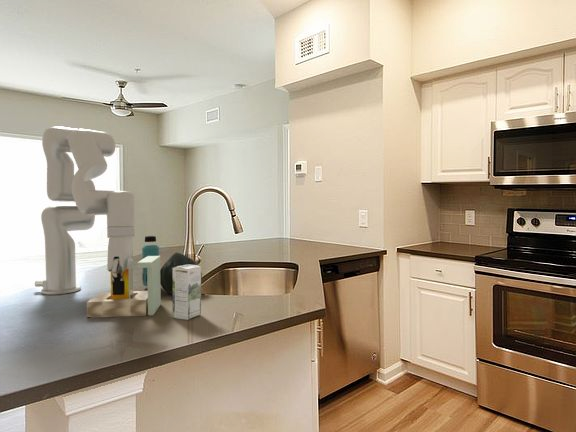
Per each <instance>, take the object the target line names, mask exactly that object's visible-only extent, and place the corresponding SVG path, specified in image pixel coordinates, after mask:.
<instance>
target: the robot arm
mask: <svg viewBox="0 0 576 432" xmlns="http://www.w3.org/2000/svg"><path fill="white" fill-rule="evenodd" d="M41 144H42V150H43V153H44V156H45V159H46V194H47V197H48V199H49V200H50V201H52V202H59V203H62V202H63V203H64V202H65V203H75V205H69V204H68V205H67V204H65V205H62V204H61V205H51V206H48V207H46V208H44V209H43V211H41V213H40V214H41V217H40V218H41V224H42V229H43V234H44V248H45V279H44V280H35V282H34V286H35V287H36V288H38V287H39V288H40V287H42V289H41V291H40V293H41V294H42V295H48V296H49V295H50V296H51V295H52V296H53V295H55V296H57V295H65V294H71V293H75V292H78V291H80V290H81V288H82V287H81V285H80V284H77V275H76V274H77V273H76V271H77V270H76V269H77V267H76V242H75V240H74V238H73V237H72V236H71V235H70V234H69V232H74V231H87V230H90V229H92V228H93V226H94V224H95V221H96V220H95V218H96V216H106V225H107V227H106V229H107V230H106V234H107V235H106V236H107V239H108V242H107V243H108V245H107V264H106V265H107V269H106V270H107V272H109V273H111V271H112V276H113V277H112V283H113V295H124V294H125V282H124V281H123V277H124V271H125V270H126V269H127V263H128V259H129V257H131V258H132V261H133V239H132V238H135V195H134V193H133V192H132V191H129V190H104V189H103V190H101V189H100V190H99V189H97V190H96V186H95V184H94V183H95V182H93V180H92V179H95V178H98V177H100V176H102V175H103V174H105V172H106V171H107V169H108V163H107V161H106V158H105V157H111V156H113V155H114V153H115V151H116V141H115V139H114V138H113V136H112V135H111V134H110V133H108V132H107V131H100V130H94V129H92V130H91V129H85V128H79V129H78V128H71V127H65V126H50V127H48V128H46V129H45V130H44V132H43V134H42V141H41ZM68 153H72V156H73V159H74V161H75V163H74V161H73V160H72V158H71V156H70V154H68ZM75 164H76V166H77V168H78V169H77V170H76V172H75ZM133 262H134V261H133ZM112 266H113V267H112ZM118 268H122V269H121V270H118ZM119 273H121V276H120V274H119Z"/></svg>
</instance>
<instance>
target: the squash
mask: <svg viewBox="0 0 576 432" xmlns="http://www.w3.org/2000/svg"><path fill="white" fill-rule="evenodd" d="M183 265H197V266H200V265H199V264H198V263H197V262H196V261H195V260H194V259H192V258H191V257H188V256H186V255H185V254H182V253H180V252H175V253H173V254H172V255H171V256H170V257H169V259H168V260H166V262H165V263H164V264H163V266H162V267H160V285H161V288H162V289H163V290H164V292H166V293H168V294H172V295H173V268H174V267H178V266H183ZM202 277H203V273H202V272H201V281H202V279H203V278H202Z"/></svg>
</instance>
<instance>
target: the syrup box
mask: <svg viewBox="0 0 576 432" xmlns="http://www.w3.org/2000/svg"><path fill="white" fill-rule="evenodd" d="M201 273H202V267H201V265H199V266H197V265H183V266H178V267H174V268H173V294H172V318H173V319H179V320H186V321H190V320H192V319H195V318H197V317H199V316H201V314H202V309H201V308H202V280H201Z"/></svg>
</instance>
